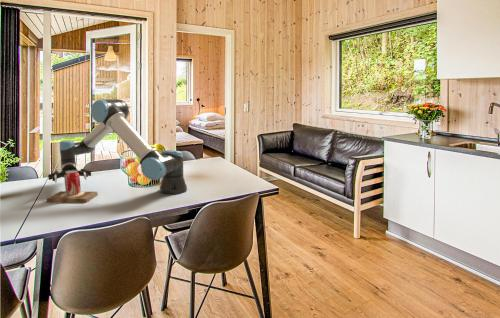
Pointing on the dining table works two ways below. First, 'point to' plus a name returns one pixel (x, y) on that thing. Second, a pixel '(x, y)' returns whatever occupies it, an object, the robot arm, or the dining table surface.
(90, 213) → the dining table surface
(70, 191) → the soda can
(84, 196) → the drinks board
